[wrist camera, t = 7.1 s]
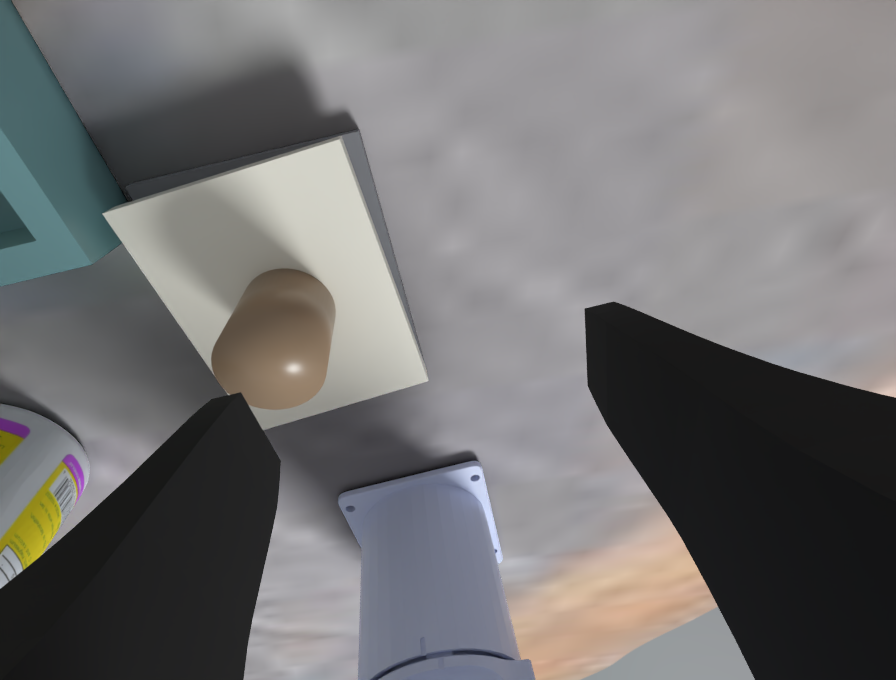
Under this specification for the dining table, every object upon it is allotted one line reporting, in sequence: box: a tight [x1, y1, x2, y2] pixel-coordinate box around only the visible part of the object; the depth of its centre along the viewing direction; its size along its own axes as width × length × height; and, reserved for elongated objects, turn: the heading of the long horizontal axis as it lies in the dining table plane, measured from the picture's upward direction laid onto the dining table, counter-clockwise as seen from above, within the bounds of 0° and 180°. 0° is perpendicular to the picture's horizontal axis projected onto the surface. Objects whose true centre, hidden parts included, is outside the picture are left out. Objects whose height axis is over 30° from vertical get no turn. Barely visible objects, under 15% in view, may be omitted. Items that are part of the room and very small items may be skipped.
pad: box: [125, 129, 424, 361], centre depth 18 cm, size 10×8×1 cm
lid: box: [102, 136, 428, 430], centre depth 16 cm, size 10×8×5 cm
